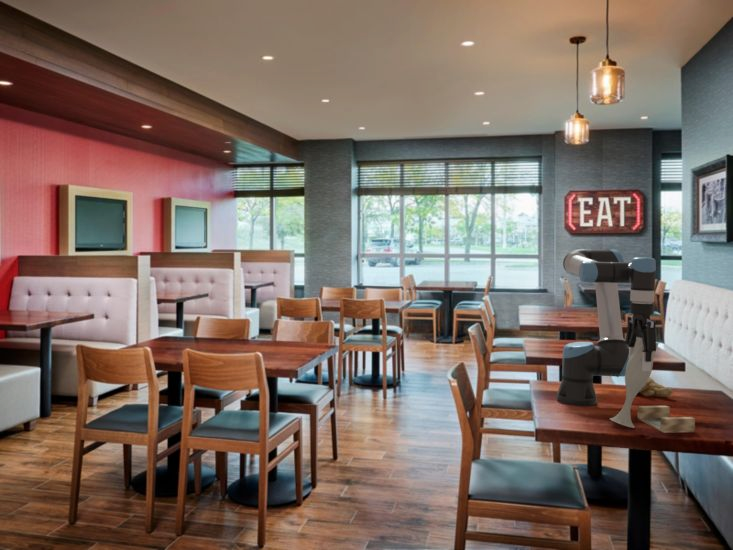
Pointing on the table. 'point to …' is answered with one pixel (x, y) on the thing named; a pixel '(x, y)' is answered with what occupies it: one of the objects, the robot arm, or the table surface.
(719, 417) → the table surface
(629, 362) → the vase
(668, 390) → the ginger root
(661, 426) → the u rest
